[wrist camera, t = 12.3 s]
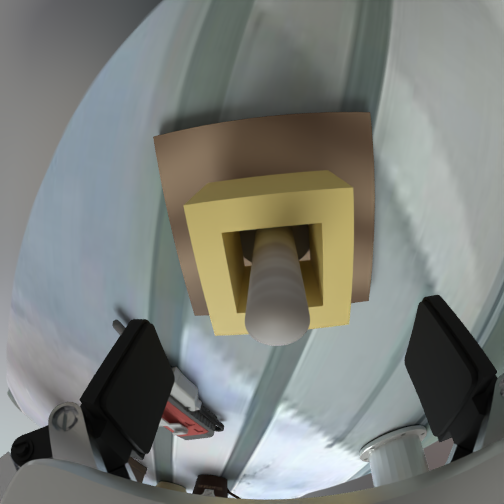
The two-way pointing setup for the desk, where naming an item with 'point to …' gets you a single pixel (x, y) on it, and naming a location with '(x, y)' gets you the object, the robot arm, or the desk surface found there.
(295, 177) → the ring
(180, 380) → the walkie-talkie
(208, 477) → the coffee mug
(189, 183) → the peg board base
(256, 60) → the desk surface
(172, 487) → the plant pot
